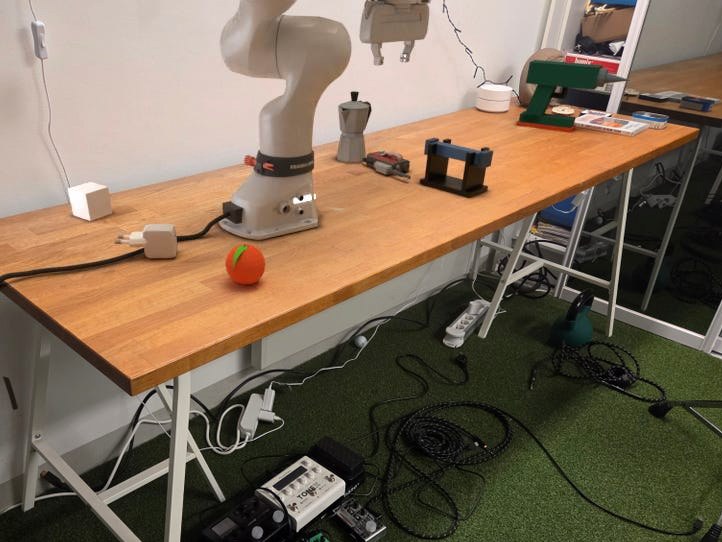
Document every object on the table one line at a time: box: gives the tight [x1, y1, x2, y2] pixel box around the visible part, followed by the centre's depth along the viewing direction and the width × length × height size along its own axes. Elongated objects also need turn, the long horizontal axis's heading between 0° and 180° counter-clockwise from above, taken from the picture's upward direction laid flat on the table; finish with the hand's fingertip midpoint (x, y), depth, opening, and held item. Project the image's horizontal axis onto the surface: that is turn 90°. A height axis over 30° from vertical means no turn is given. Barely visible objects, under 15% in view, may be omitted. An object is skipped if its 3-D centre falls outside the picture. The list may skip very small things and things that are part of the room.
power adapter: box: [114, 223, 178, 259], centre depth 115 cm, size 11×5×6 cm, turn 93°
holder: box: [418, 138, 490, 199], centre depth 151 cm, size 8×15×10 cm, turn 44°
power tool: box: [515, 59, 632, 133], centre depth 202 cm, size 32×7×20 cm, turn 58°
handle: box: [423, 137, 494, 169], centre depth 149 cm, size 4×17×4 cm, turn 44°
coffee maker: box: [336, 90, 373, 164], centre depth 170 cm, size 15×9×18 cm, turn 143°
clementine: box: [225, 243, 266, 285], centre depth 105 cm, size 8×7×7 cm
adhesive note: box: [67, 181, 113, 222], centre depth 134 cm, size 6×6×6 cm
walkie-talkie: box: [362, 150, 412, 180], centre depth 163 cm, size 9×4×20 cm
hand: (391, 63), depth 142 cm, fingers open, 8 cm apart
